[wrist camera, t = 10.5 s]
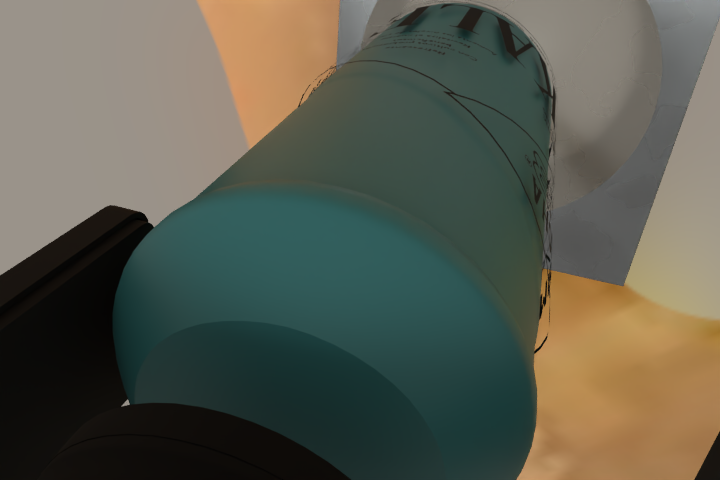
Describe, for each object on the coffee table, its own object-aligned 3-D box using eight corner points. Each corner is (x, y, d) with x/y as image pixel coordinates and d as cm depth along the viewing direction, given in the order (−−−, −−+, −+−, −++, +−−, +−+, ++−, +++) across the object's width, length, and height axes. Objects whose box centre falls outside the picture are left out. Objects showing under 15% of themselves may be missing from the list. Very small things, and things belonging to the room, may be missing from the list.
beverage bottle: (400, 189, 24) (49, 879, 8) (341, 16, 22) (-384, 504, 5) (577, 152, 22) (616, 1062, 5) (535, -49, 19) (340, 500, 3)
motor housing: (594, 286, 31) (595, 372, 26) (362, 233, 34) (319, 301, 29) (734, -138, 22) (780, -141, 16) (398, -165, 24) (344, -175, 19)
